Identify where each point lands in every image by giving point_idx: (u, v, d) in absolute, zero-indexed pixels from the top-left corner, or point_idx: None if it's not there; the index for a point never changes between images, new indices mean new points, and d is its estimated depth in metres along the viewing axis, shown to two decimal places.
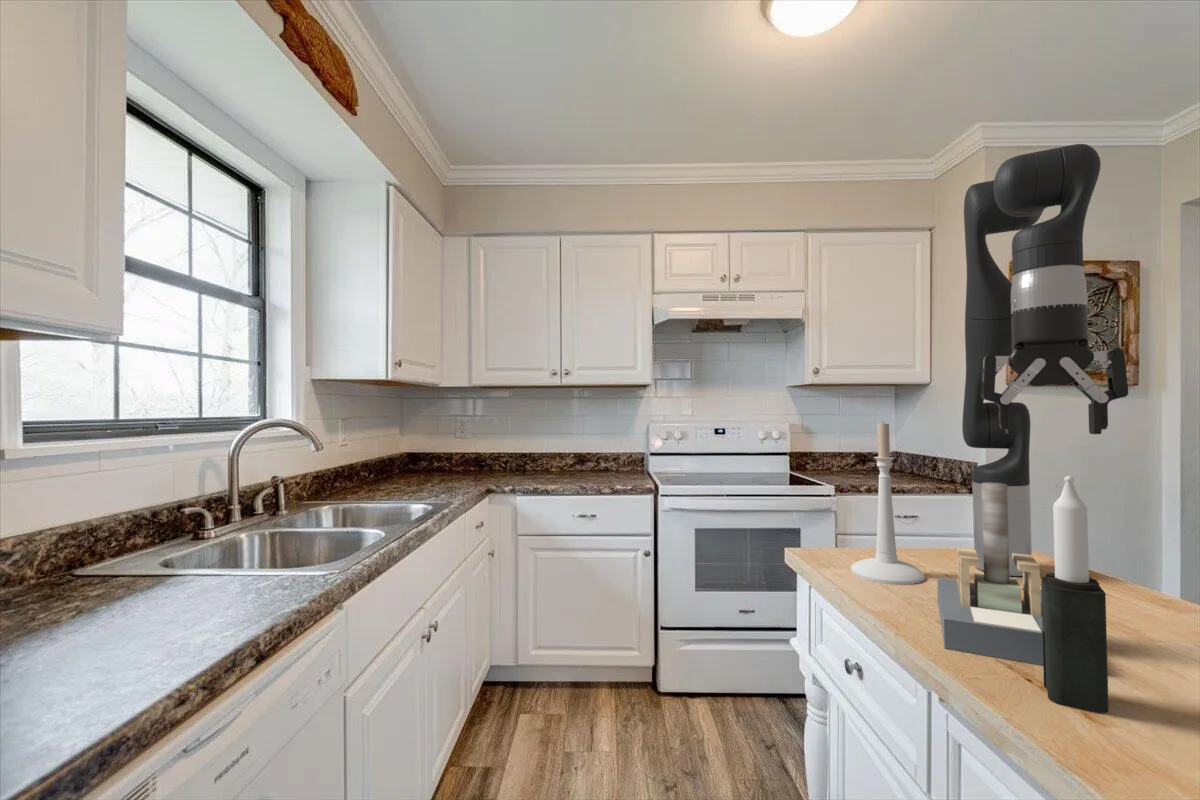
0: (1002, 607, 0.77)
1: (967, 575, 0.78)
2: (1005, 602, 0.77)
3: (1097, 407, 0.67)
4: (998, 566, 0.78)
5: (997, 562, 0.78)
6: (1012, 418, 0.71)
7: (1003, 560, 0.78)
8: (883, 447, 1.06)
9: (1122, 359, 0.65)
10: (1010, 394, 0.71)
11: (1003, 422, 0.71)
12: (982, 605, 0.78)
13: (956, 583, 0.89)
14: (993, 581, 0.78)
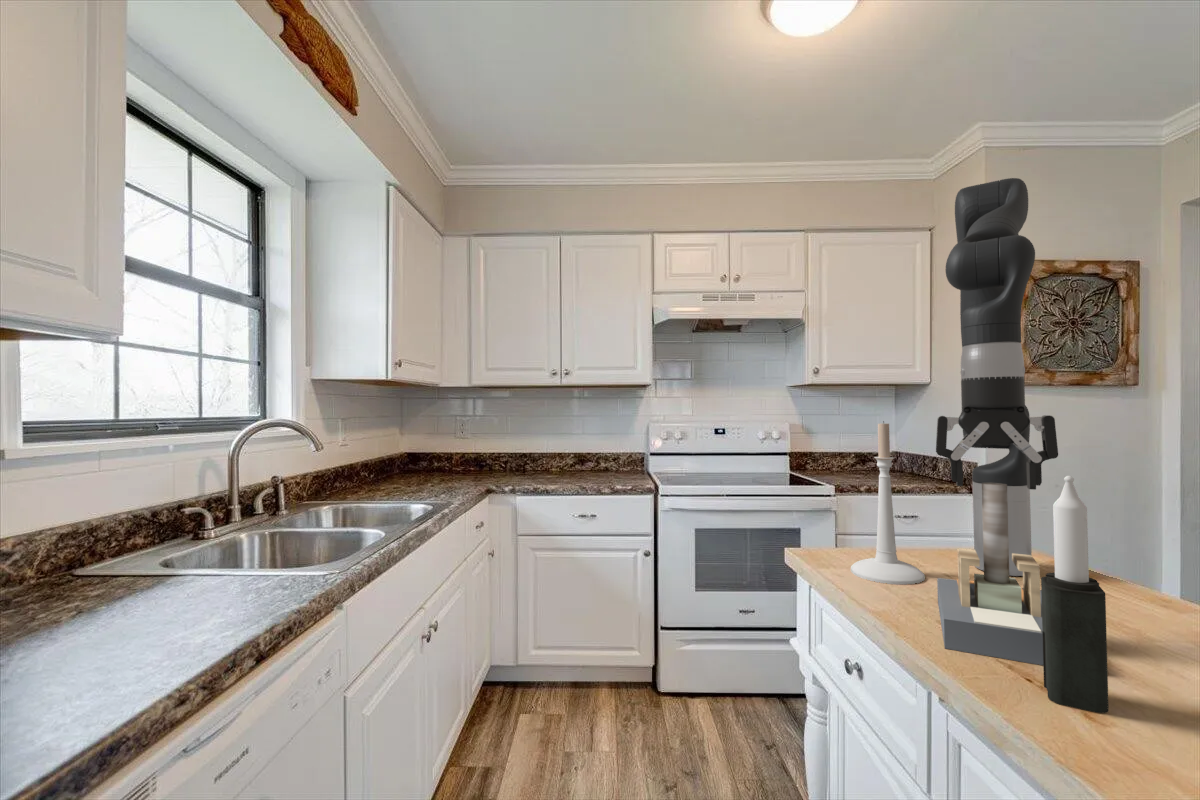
0: (1002, 607, 0.77)
1: (967, 575, 0.78)
2: (1005, 602, 0.77)
3: (1032, 466, 0.76)
4: (998, 566, 0.78)
5: (997, 562, 0.78)
6: (961, 473, 0.80)
7: (1003, 560, 0.78)
8: (883, 447, 1.06)
9: (1053, 425, 0.75)
10: (959, 451, 0.80)
11: (953, 476, 0.81)
12: (982, 605, 0.78)
13: (956, 583, 0.89)
14: (993, 581, 0.78)
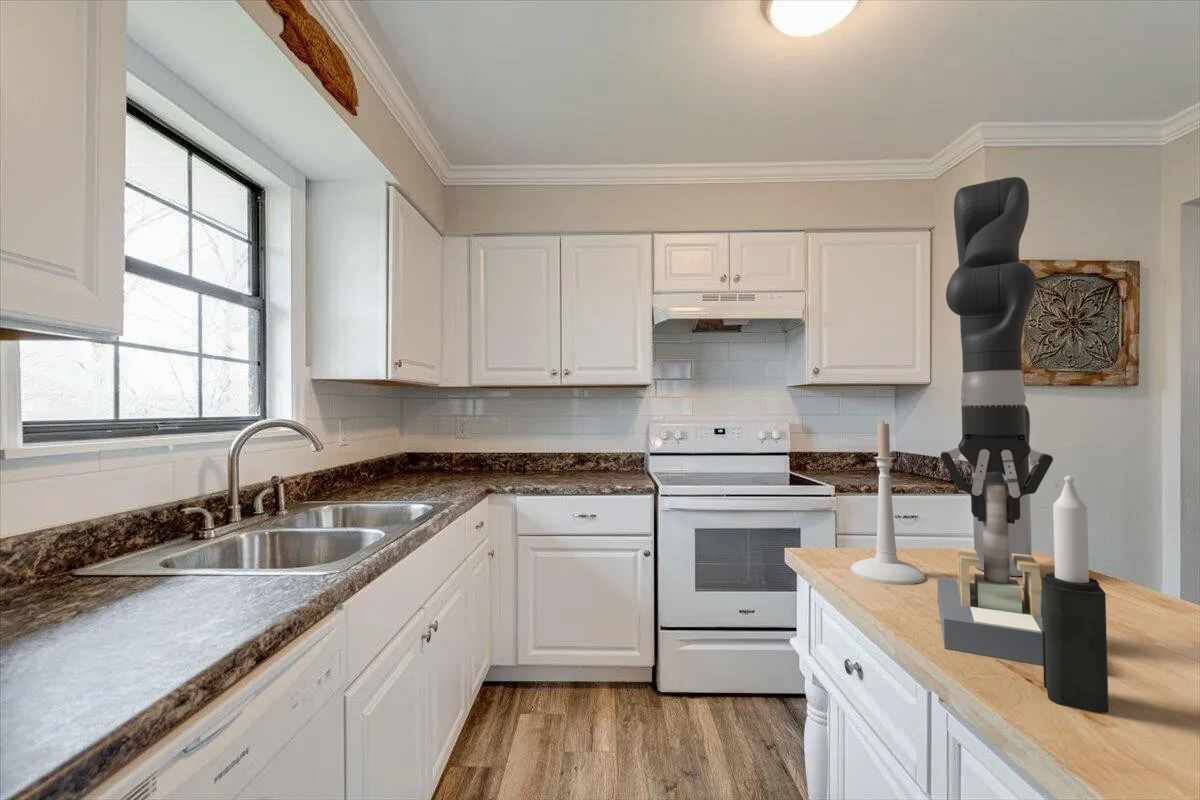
0: (1003, 607, 0.77)
1: (967, 575, 0.78)
2: (1005, 602, 0.77)
3: (1011, 501, 0.77)
4: (998, 566, 0.78)
5: (997, 562, 0.78)
6: (982, 508, 0.79)
7: (1003, 560, 0.78)
8: (883, 447, 1.06)
9: (1048, 465, 0.75)
10: (977, 485, 0.79)
11: (974, 510, 0.80)
12: (982, 605, 0.78)
13: (956, 583, 0.89)
14: (993, 581, 0.78)
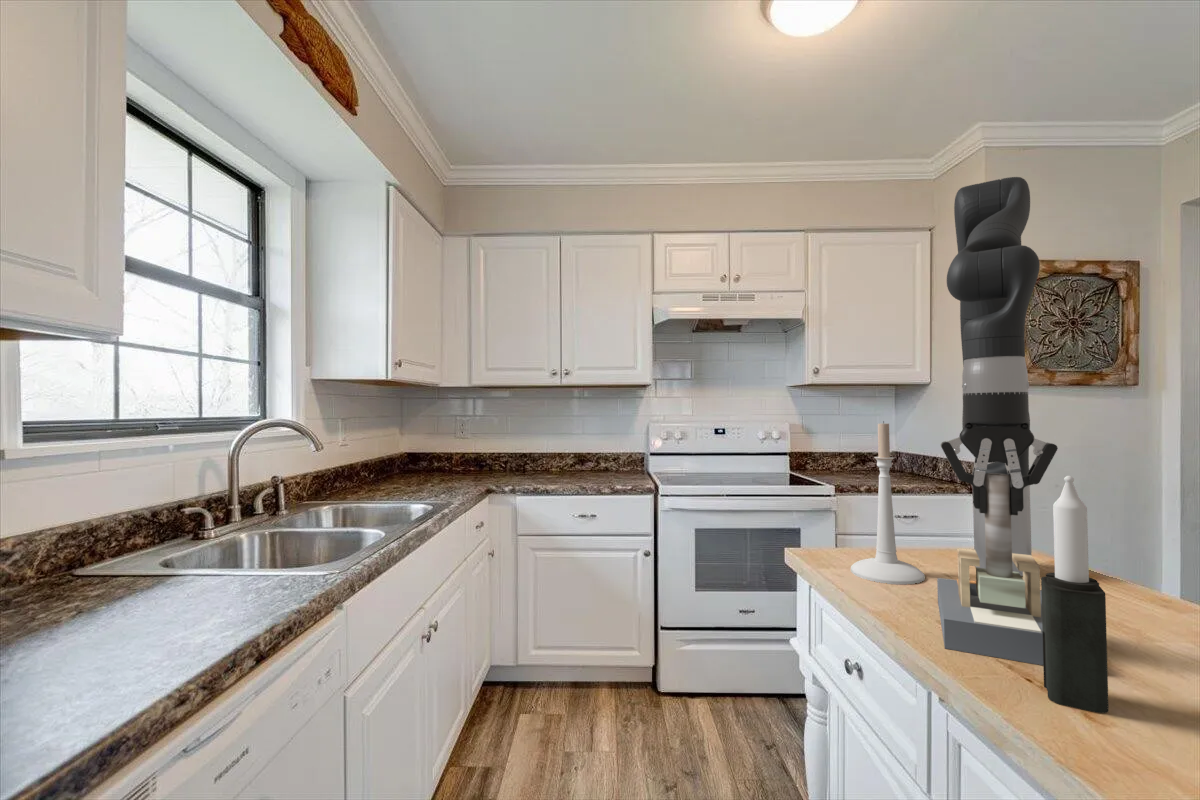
0: (1005, 601, 0.74)
1: (967, 575, 0.78)
2: (1008, 596, 0.74)
3: (1014, 491, 0.75)
4: (1001, 559, 0.75)
5: (1000, 555, 0.75)
6: (984, 499, 0.77)
7: (1006, 553, 0.75)
8: (883, 447, 1.06)
9: (1052, 454, 0.73)
10: (979, 476, 0.77)
11: (976, 502, 0.77)
12: (984, 600, 0.75)
13: (956, 583, 0.89)
14: (996, 575, 0.76)
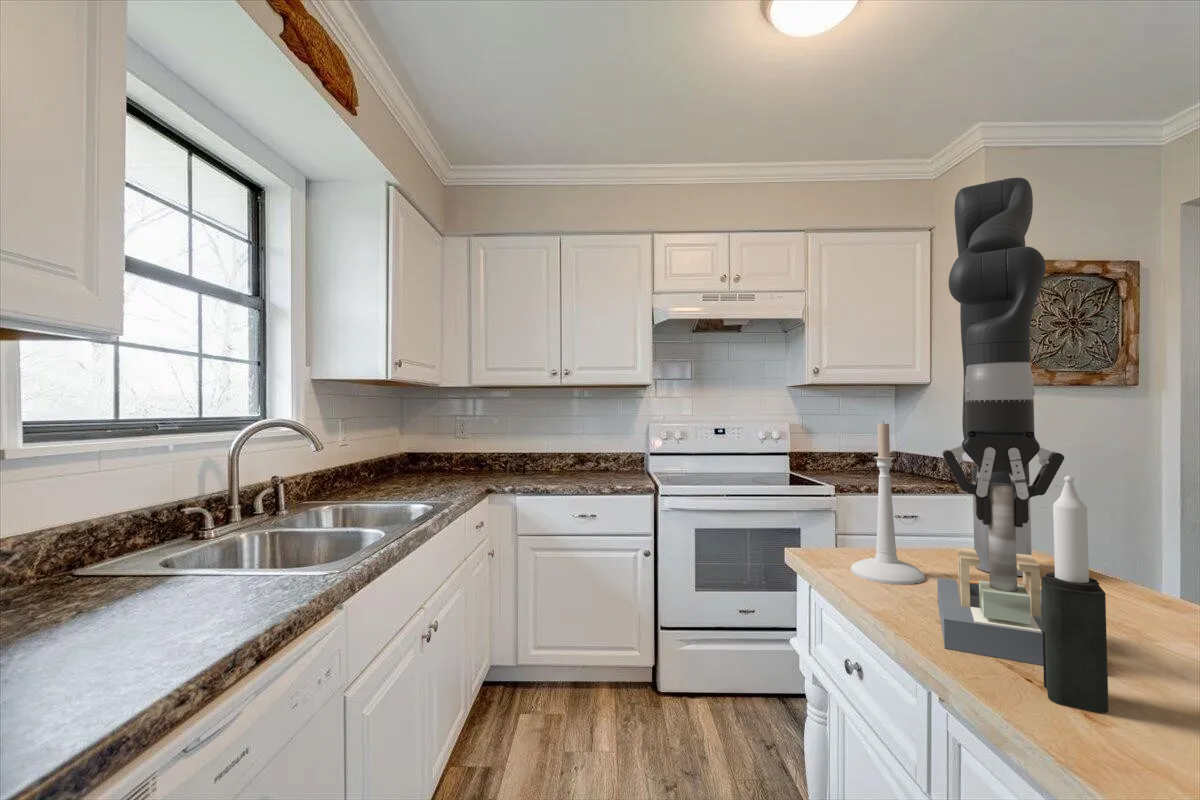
0: (1010, 617, 0.71)
1: (967, 575, 0.78)
2: (1013, 612, 0.71)
3: (1019, 502, 0.72)
4: (1005, 573, 0.72)
5: (1004, 568, 0.72)
6: (987, 510, 0.74)
7: (1010, 566, 0.72)
8: (883, 447, 1.06)
9: (1058, 464, 0.70)
10: (982, 486, 0.74)
11: (979, 513, 0.74)
12: (988, 615, 0.72)
13: (956, 583, 0.89)
14: (1000, 589, 0.73)
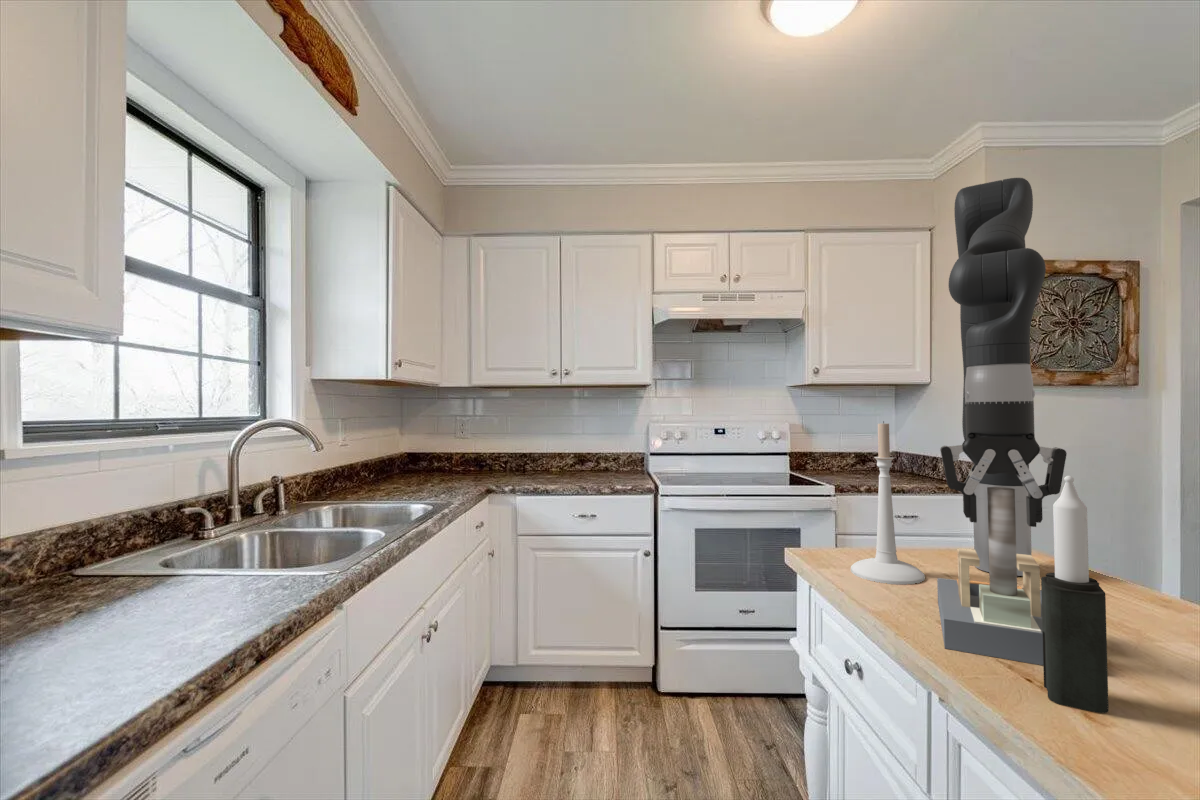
0: (1010, 621, 0.71)
1: (967, 575, 0.78)
2: (1013, 616, 0.71)
3: (1032, 502, 0.71)
4: (1005, 577, 0.72)
5: (1004, 572, 0.72)
6: (975, 508, 0.74)
7: (1010, 570, 0.72)
8: (883, 447, 1.06)
9: (1063, 460, 0.70)
10: (971, 484, 0.74)
11: (966, 511, 0.75)
12: (988, 619, 0.72)
13: (956, 583, 0.89)
14: (1000, 593, 0.73)
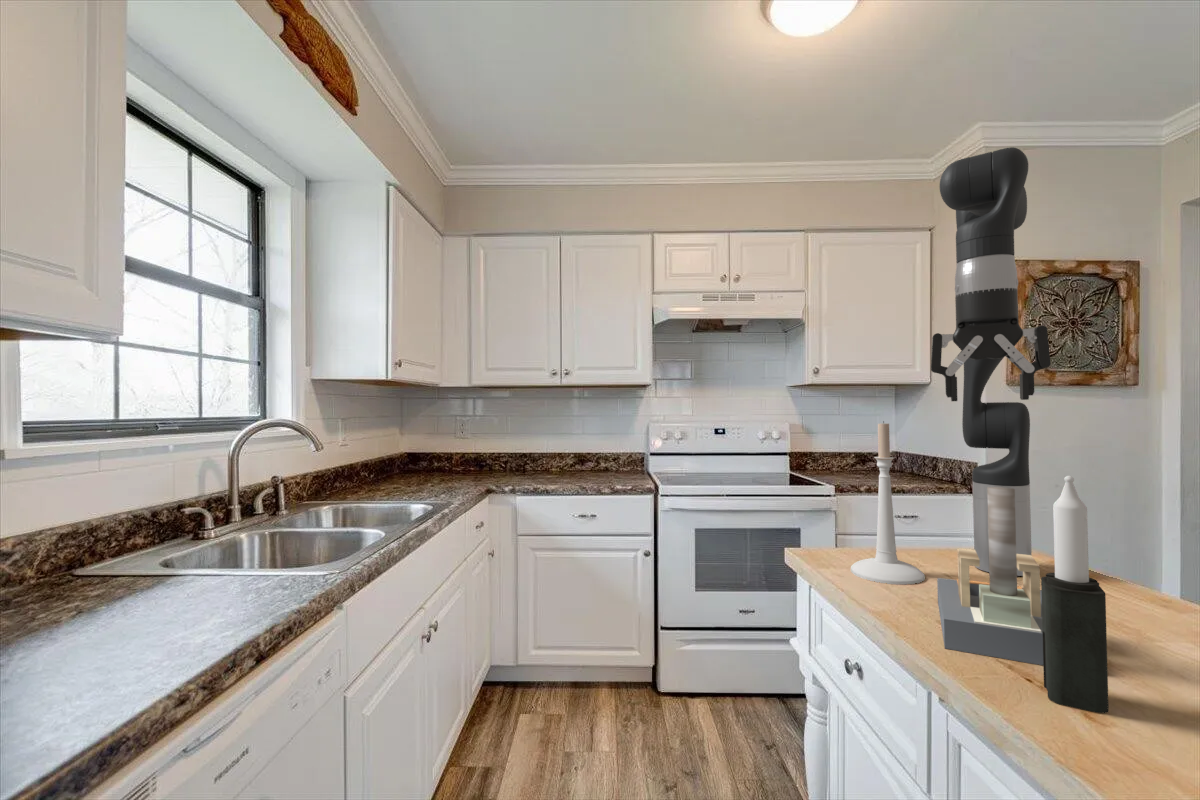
0: (1010, 621, 0.71)
1: (967, 575, 0.78)
2: (1013, 616, 0.71)
3: (1025, 376, 0.78)
4: (1005, 577, 0.72)
5: (1004, 572, 0.72)
6: (955, 388, 0.82)
7: (1010, 570, 0.72)
8: (883, 447, 1.06)
9: (1045, 335, 0.76)
10: (954, 367, 0.82)
11: (948, 391, 0.83)
12: (988, 619, 0.72)
13: (956, 583, 0.89)
14: (1000, 593, 0.73)
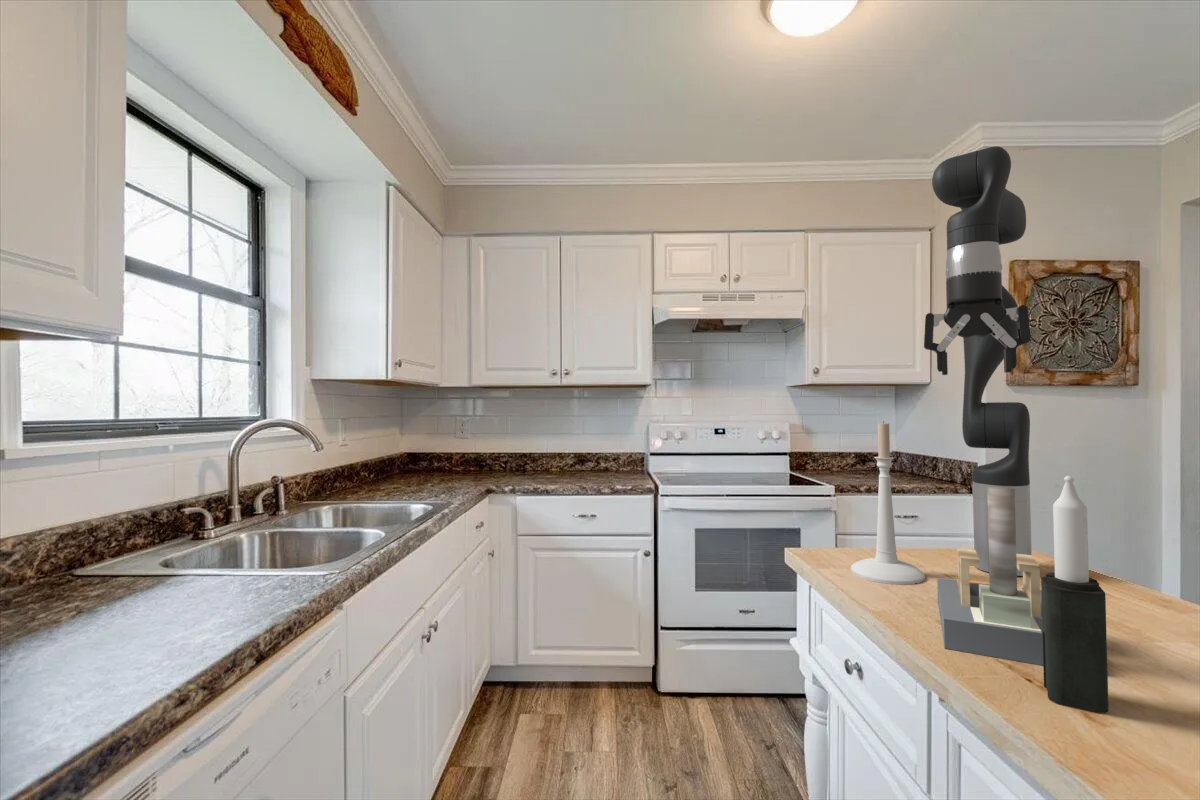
0: (1010, 621, 0.71)
1: (967, 575, 0.78)
2: (1013, 616, 0.71)
3: (1008, 351, 0.86)
4: (1005, 577, 0.72)
5: (1004, 572, 0.72)
6: (946, 362, 0.90)
7: (1010, 570, 0.72)
8: (883, 447, 1.06)
9: (1026, 313, 0.85)
10: (944, 343, 0.90)
11: (939, 366, 0.91)
12: (988, 619, 0.72)
13: (956, 583, 0.89)
14: (1000, 593, 0.73)
